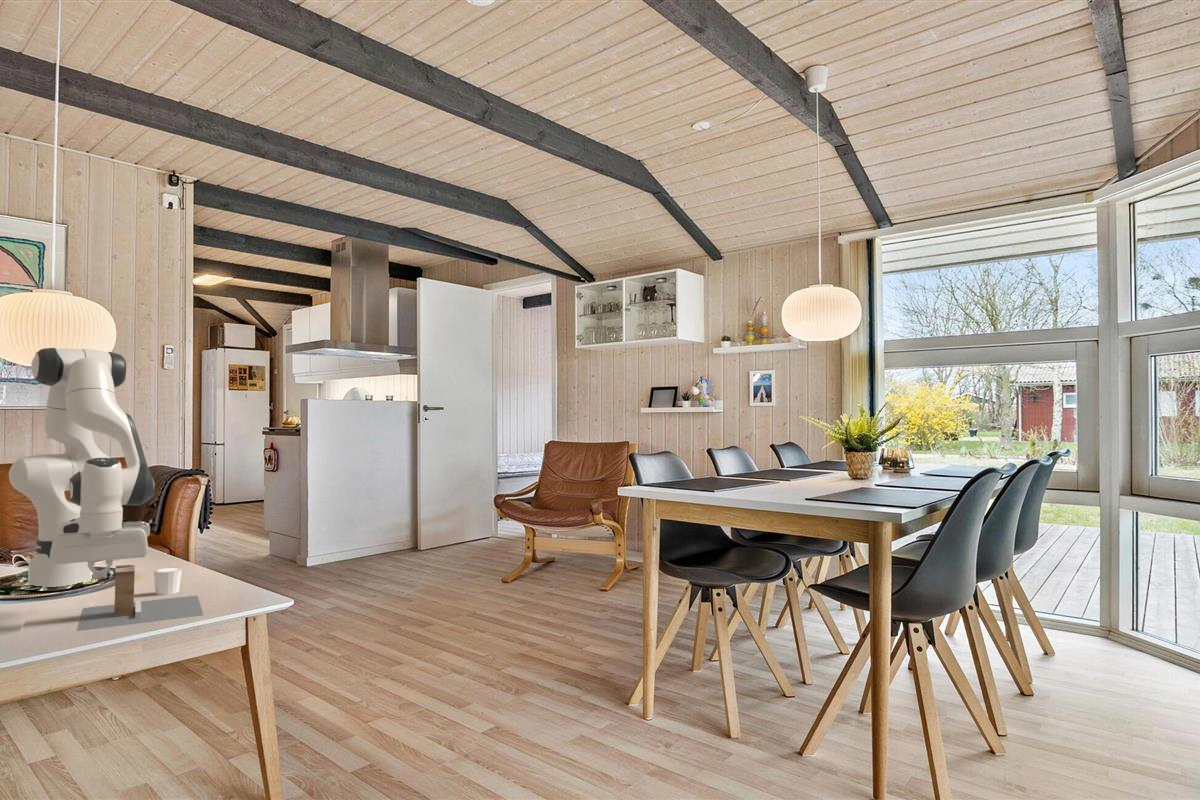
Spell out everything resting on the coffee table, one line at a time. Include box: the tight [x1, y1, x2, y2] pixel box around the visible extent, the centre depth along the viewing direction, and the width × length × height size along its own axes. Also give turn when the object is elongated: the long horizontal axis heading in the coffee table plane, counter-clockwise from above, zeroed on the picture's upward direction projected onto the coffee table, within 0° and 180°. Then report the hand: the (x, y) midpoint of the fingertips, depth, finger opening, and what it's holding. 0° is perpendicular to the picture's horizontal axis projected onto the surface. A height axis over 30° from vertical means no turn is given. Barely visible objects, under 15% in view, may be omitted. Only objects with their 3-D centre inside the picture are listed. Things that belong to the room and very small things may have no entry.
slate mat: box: [76, 594, 204, 632], centre depth 183 cm, size 22×26×2 cm
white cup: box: [153, 566, 183, 596], centre depth 202 cm, size 7×7×7 cm
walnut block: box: [114, 563, 136, 617], centre depth 181 cm, size 5×4×12 cm
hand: (99, 578), depth 178 cm, fingers closed
